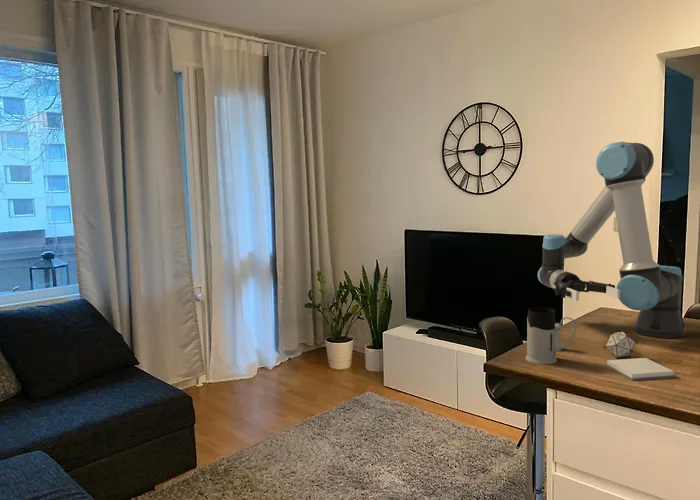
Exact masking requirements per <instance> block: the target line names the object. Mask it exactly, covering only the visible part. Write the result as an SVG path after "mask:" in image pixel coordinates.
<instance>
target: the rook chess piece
mask: <svg viewBox="0 0 700 500" xmlns="http://www.w3.org/2000/svg"><path fill="white" fill-rule="evenodd" d="M559 327H560V322H555V329H559ZM560 333H561V329H560V330H559V331H555V351H557V350H558V349H560V348H561V347H563V346H564V344H563V342H562V340H561V337H560V335H561V334H560ZM562 350H563V348H562V349H561V350H560V351H562Z"/></svg>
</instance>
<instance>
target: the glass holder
mask: <svg viewBox="0 0 700 500" xmlns="http://www.w3.org/2000/svg"><path fill="white" fill-rule="evenodd" d="M565 319H569V320H571V321H572V322H573V326H574V328H573V333H572V336H571V338H570V339H569V341H568V342H567V343H565V344H563V345H562V347H561V348H560V349H558V350H555V331H559V330H560V331H561V329H562V323H563V321H564V320H565ZM526 322H527V323H526V324H527V325H526V327H527V328H526V332H527V333H526V334H527V336H526V348H527V349H526V356H525V360H526V361H527V362H529V363H532V364H535V365H536V364H538V365H551V364H555V363H557V361H558V360H557V358H556V356H557V355H556V354H557V353H558V352H559V351H562V350H563V349H564V348H565V347H566V346H568V345H570V344H571V343H572V341H573V339H574V338H575V335H576V331H577V326H576V325H577V323H576V322H575V320H574V319H573V318H572V317H569V316H566V317H565V316H564V317H563V318H562V319H560V321H559V324H560V327H559V329H555V323H556V310H555V309H554V308H551V307H546V306H544V307H543V306H535V307H529V308H528V309H527V319H526ZM561 349H562V350H561Z"/></svg>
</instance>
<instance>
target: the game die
mask: <svg viewBox="0 0 700 500" xmlns="http://www.w3.org/2000/svg"><path fill="white" fill-rule="evenodd" d="M624 331H625V329H623V328H622V330H621V331H618V332H612V331H611V330H609V334H610V335H609V336H607V341H606V344H605V345H603V346H602V348H603V349H604V348H606V349H607V350H608V351H610V353H611V355H612V356H613V355H614V356H615V357H616V358H615V360H619V358H622V357H623V358H624V357H629V359H632V356H631V354H632V353H634V350H633V348H634V347H635V345H636V344H638V343H639V341H638V340H636V341H635V340H634V339H632V338H631V337H630V334H629V333H626V332H624Z"/></svg>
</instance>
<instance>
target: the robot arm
mask: <svg viewBox="0 0 700 500" xmlns="http://www.w3.org/2000/svg"><path fill="white" fill-rule="evenodd" d="M654 162H655V158H654V153H653V152H652V149H651V148H650V147H648V146H647V145H645V144H643V143H640V142H627V141H618V142H612V143H609V144H608V145H606V146H604V147H603V148H602V149H601V150H600V152H599V153H598V155H597V157H596V161H595V165H596V166H595V168H596V170H597V172H598V174H599V176H601V177H602V178H604V184H605V186H604V188H603V189H602V191H601V192H600V193H599V194H598V195H597V196H596V198H595V200H594V201H592V204H590V205H589V207H588V209H587V210H586V211H585V212H584V214H583V215H582V216H581V218H580V219H579V220H578V221H577V223H576V224H575V225H574V227H573V228H572V229H571V231H570V232H569V234H568V235H566V237H565V235H563V234H555V233H553V234H552V233H551V234H545V235H544V236H543V240H542V241H543V242H542V259H541V260H542V264H541V267H540V268H539V269H538V271H537V279H538V282H540V283H541V284H542V285H544V286H546V287H548V288H551V289H553V291H554V294H555V296H560V295H561V298H562V299H565V298H566V297H567V298H569V299H572V300H574V301H579V299H580V298H579V297H580V295H579V294H580V293H581V292H583V293H590V292H593V293H601V294H605V295H606V296H609V297H612V298H615V299H618V300H619V301H620V303H621V304H622V305H623V306H625V307H626V308H628V309H629V310H633V311H639V312H638V314H637V318H636V320H635V322H634V332H635V333H637V334H640V335H642V336H643V335H644V336H646V337H647V336H648V337H654V338H663V339H679V338H683V337H685V336H686V335H687V333H686V331H687V330H686V328H687V327H686V326H685V325H686V324H685V322H684V319H683V316H682V314H681V304H682V302H681V301H682V300H681V299H682V280H683V276H682V269H681V268H680V267H679V266H671V265H670V266H669V265H660V264H659V263H657V262H656V261H654V258H653V257H654V256H653V251H652V244H651V238H650V233H649V226H648V219H647V213H646V207H645V201H644V196H643V189H642V186H643V184H644V183H645V182H646V178H647V176H649V173H650V172H651V171H652V169H653V167H654ZM612 214H615V219H616V226H617V232H618V233H617V234H618V239H619V244H620V250H621V257H622V265H621V266H620V267H619V276H620V279H619V281H618V283H617V285H615V284H612V283H603V282H597V281H593V280H588V281H584V280H582V279H580V277H579V276H578V275H576V274H575V273H573V272H570V271H566V270H565V260H566V259H571V258H577V257H580V256H583V255H584V254H585V253H586V252H587V251H588V247H589V245H588V244H589V243H590V242H591V241H592V240H593V238H594V237H595V235H596V234H597V233H598V232H599V231H600V230H601V228H602V227H603V226H604V225H605V224H606V222H607V221H608V220H609V218H610V217H611V216H612Z"/></svg>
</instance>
